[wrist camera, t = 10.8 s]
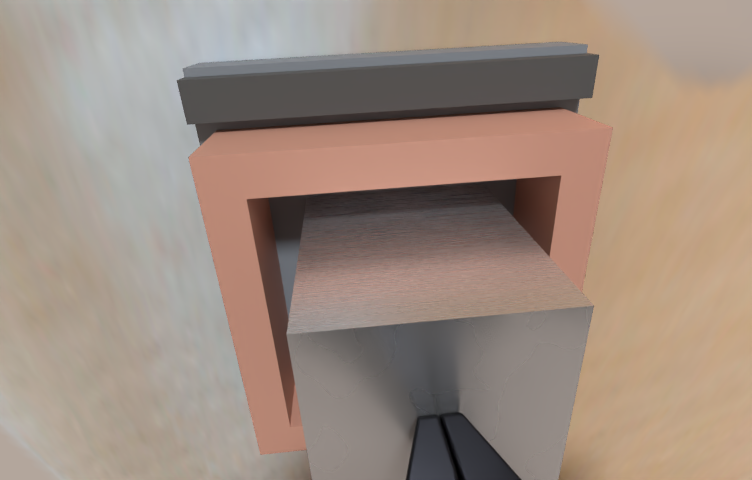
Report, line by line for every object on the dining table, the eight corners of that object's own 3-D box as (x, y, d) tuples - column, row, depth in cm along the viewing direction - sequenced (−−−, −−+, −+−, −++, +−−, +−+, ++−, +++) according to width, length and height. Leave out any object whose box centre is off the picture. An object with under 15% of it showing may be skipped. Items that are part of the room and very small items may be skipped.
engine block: (474, 326, 15) (554, 498, 10) (325, 340, 15) (320, 526, 9) (483, 184, 13) (593, 305, 7) (306, 197, 12) (286, 334, 7)
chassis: (519, 367, 18) (565, 454, 14) (269, 392, 17) (252, 489, 14) (560, 41, 13) (650, 50, 9) (199, 62, 12) (142, 81, 8)
